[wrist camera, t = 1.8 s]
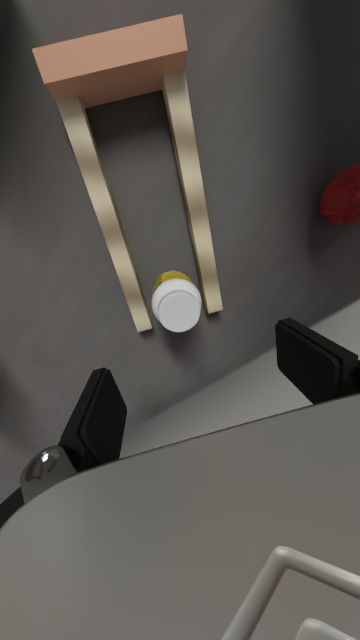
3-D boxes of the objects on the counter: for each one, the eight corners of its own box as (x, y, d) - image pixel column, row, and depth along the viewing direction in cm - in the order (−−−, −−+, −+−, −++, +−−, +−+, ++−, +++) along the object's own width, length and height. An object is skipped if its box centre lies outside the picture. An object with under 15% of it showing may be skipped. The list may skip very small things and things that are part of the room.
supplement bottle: (154, 267, 26) (153, 280, 17) (194, 272, 27) (213, 287, 18) (150, 306, 28) (148, 337, 19) (188, 310, 29) (203, 341, 20)
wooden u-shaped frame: (55, 86, 19) (31, 48, 15) (176, 57, 19) (182, 13, 16) (138, 326, 29) (136, 338, 25) (218, 305, 29) (227, 314, 26)
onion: (327, 234, 27) (392, 232, 20) (295, 214, 26) (352, 204, 18) (356, 189, 26) (437, 169, 18) (323, 165, 24) (397, 132, 17)
